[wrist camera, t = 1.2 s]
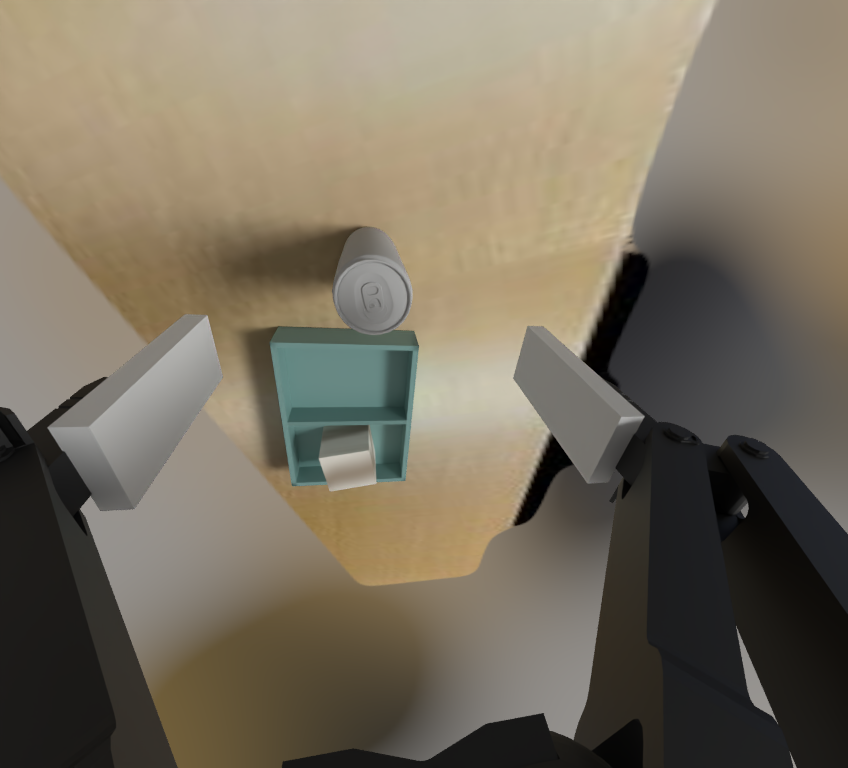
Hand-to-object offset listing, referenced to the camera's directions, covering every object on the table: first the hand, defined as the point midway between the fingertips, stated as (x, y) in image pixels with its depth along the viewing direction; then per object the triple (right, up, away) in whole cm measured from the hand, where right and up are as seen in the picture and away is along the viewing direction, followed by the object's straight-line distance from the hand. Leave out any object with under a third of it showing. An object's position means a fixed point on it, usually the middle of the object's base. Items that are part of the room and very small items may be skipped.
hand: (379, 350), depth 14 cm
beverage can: (-3, +10, +15) cm, 19 cm away
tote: (-6, -4, +23) cm, 24 cm away
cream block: (-7, -8, +25) cm, 27 cm away
